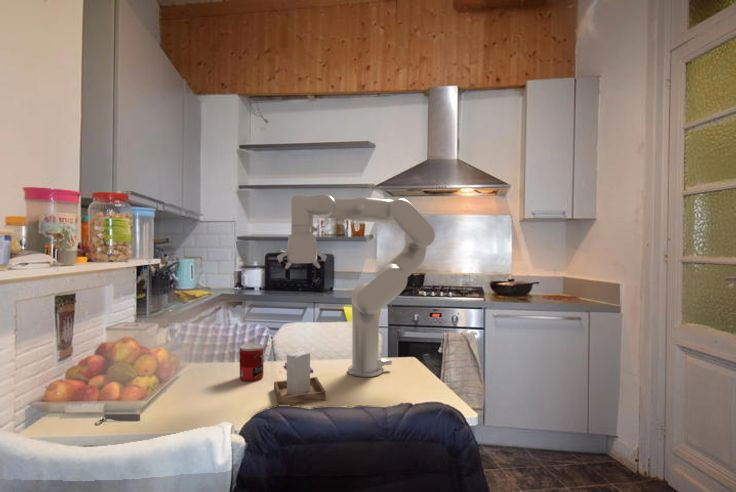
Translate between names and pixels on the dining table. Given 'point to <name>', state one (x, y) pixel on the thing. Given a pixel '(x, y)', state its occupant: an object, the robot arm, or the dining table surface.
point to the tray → (311, 396)
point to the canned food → (251, 362)
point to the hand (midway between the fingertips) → (302, 279)
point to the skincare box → (298, 372)
